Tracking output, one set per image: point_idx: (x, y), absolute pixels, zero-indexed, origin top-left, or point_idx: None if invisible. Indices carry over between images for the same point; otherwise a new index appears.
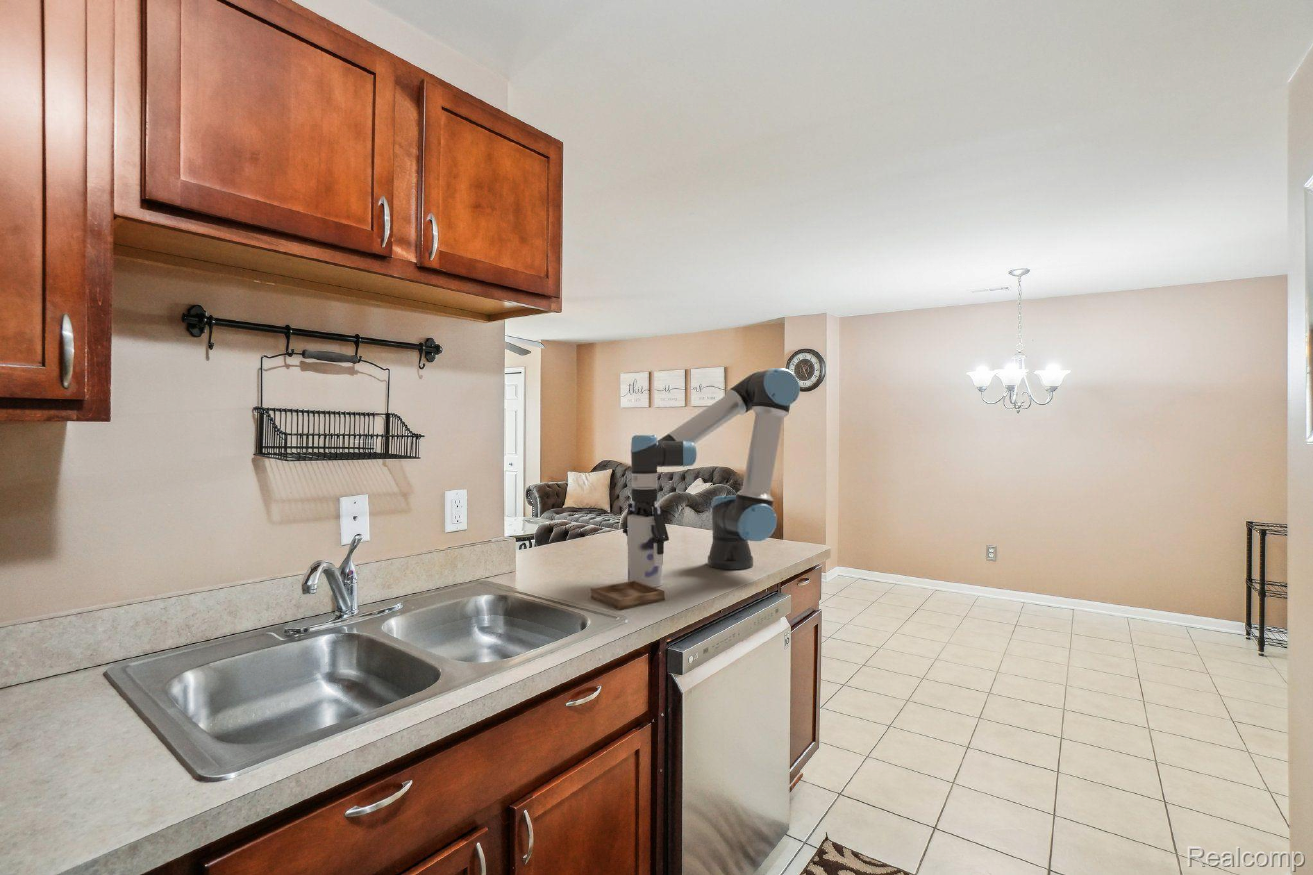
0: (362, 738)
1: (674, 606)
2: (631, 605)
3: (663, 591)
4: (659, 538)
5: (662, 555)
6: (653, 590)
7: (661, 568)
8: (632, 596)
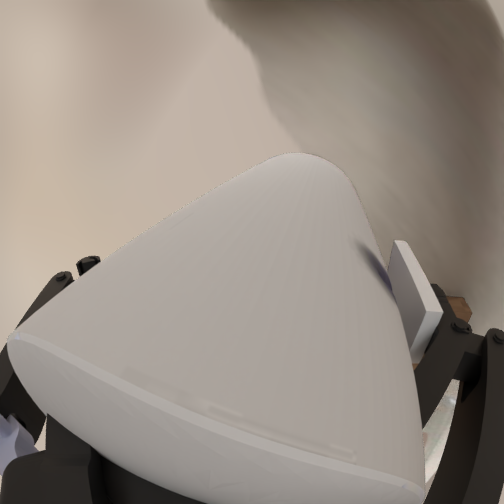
0: None
1: (497, 310)
2: None
3: (470, 315)
4: (461, 386)
5: (418, 267)
6: None
7: (359, 200)
8: None
